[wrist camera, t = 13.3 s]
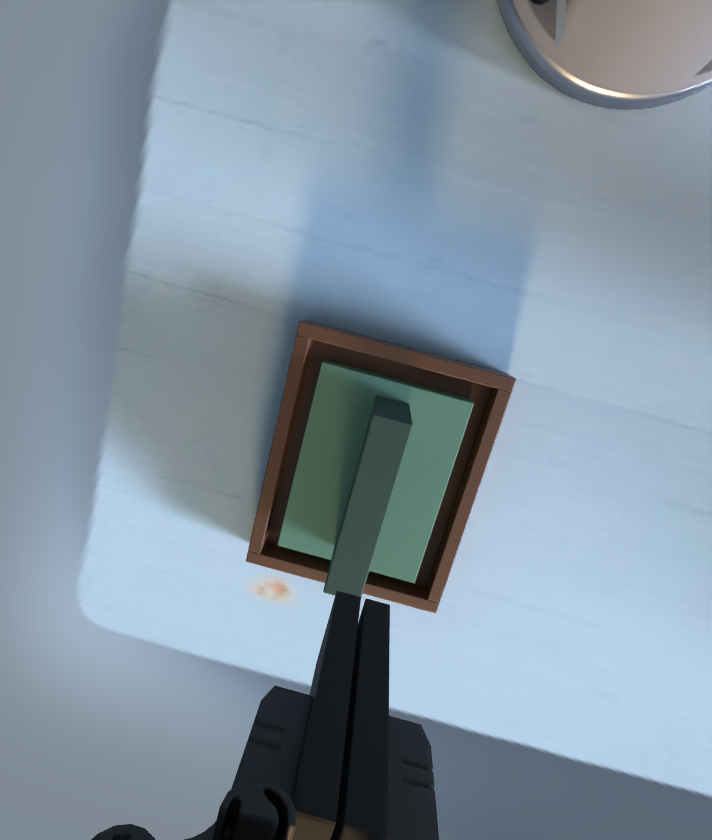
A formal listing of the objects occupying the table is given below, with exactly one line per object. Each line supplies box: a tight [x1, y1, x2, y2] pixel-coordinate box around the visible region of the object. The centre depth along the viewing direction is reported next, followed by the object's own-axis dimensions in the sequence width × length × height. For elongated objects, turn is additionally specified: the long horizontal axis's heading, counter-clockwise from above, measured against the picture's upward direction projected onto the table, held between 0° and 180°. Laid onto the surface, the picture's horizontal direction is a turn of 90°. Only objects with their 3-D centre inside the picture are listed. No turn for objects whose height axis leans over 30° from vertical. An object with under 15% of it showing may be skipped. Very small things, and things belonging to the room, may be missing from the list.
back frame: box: [246, 320, 516, 613], centre depth 30 cm, size 16×13×2 cm
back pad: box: [278, 360, 474, 597], centre depth 27 cm, size 12×9×6 cm
